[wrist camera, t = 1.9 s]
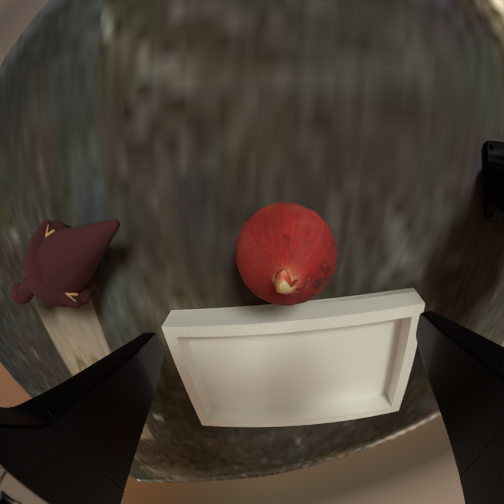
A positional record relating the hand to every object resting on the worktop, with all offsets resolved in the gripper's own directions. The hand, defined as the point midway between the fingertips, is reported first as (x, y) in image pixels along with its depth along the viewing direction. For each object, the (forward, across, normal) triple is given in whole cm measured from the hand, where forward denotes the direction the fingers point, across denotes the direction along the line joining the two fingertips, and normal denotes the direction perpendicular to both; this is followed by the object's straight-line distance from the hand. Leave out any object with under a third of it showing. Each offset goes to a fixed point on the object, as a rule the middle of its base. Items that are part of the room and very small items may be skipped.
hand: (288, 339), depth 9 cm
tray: (+12, 0, +12) cm, 17 cm away
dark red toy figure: (+12, +17, 0) cm, 21 cm away
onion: (+12, 0, 0) cm, 12 cm away
